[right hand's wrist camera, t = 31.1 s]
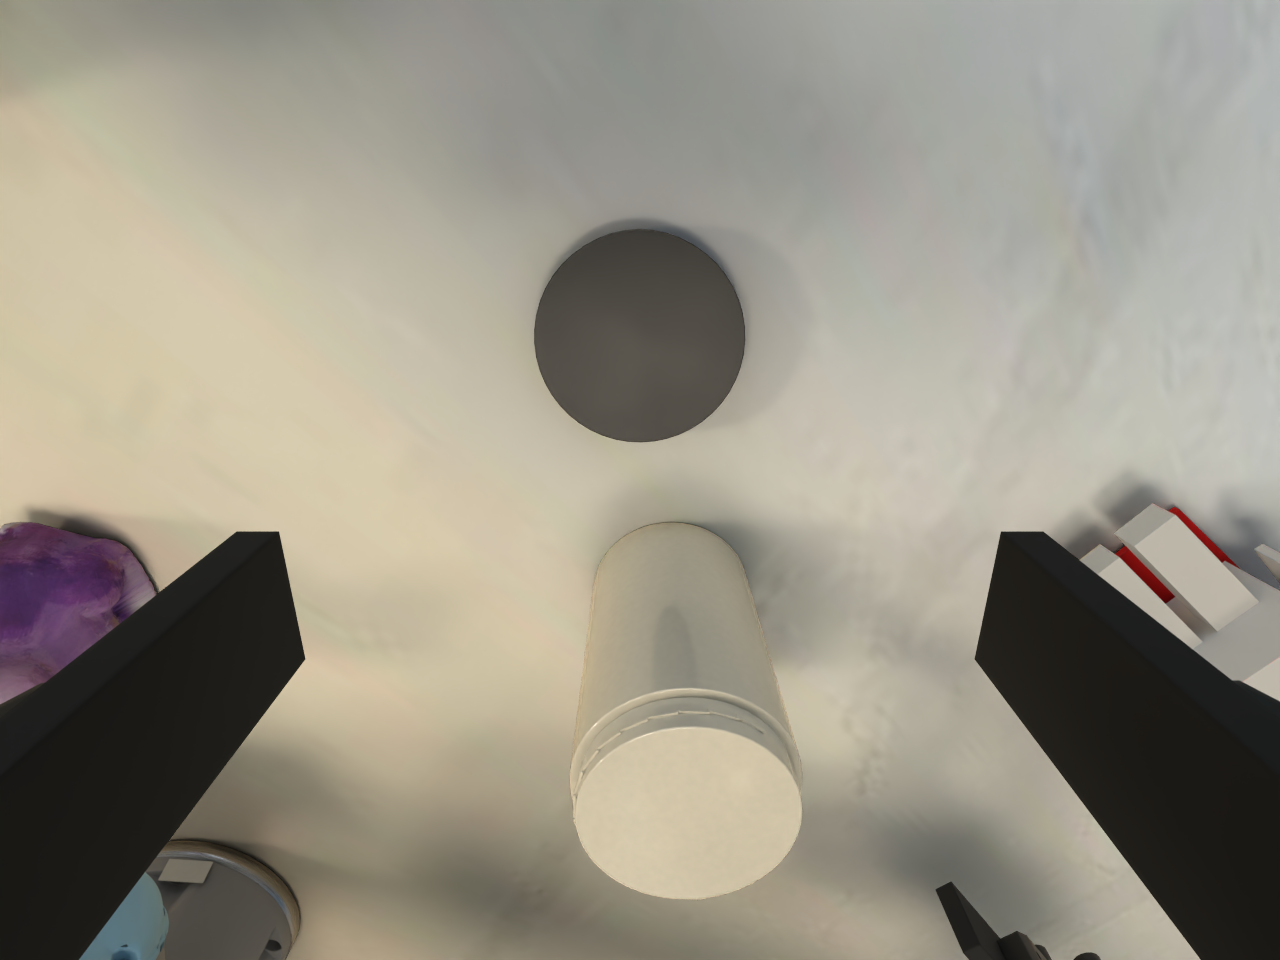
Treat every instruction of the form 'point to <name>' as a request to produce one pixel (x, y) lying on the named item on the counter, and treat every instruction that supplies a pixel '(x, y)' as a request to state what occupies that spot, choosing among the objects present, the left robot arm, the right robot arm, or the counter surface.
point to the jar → (681, 723)
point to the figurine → (59, 599)
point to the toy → (1199, 594)
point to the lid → (639, 335)
